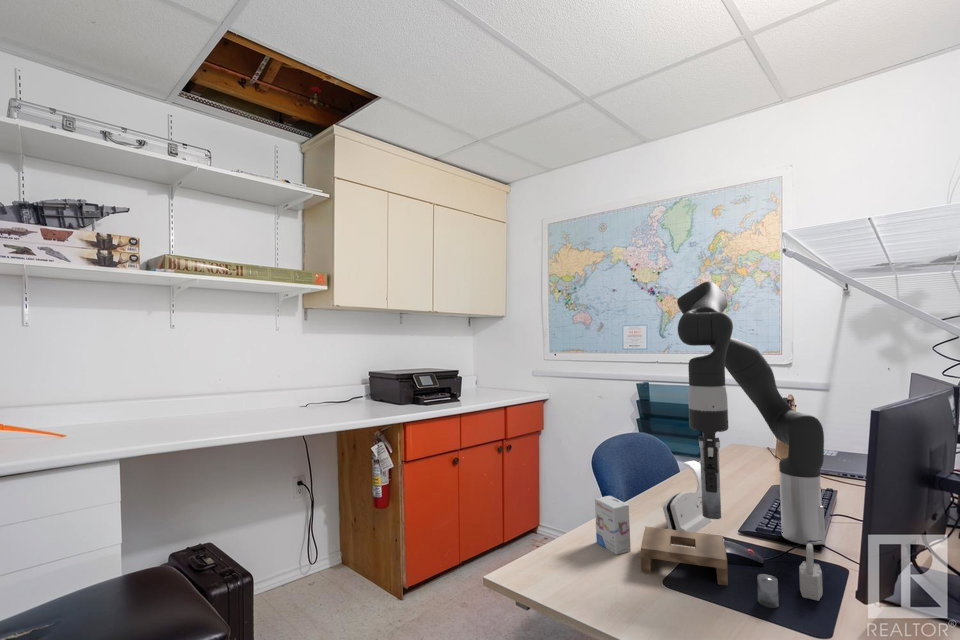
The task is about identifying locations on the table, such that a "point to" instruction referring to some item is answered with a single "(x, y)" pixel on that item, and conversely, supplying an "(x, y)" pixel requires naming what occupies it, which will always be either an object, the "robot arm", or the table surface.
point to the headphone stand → (697, 471)
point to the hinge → (684, 512)
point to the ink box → (612, 524)
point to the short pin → (768, 590)
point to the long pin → (710, 496)
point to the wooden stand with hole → (684, 550)
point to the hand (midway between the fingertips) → (710, 488)
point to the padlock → (810, 576)
